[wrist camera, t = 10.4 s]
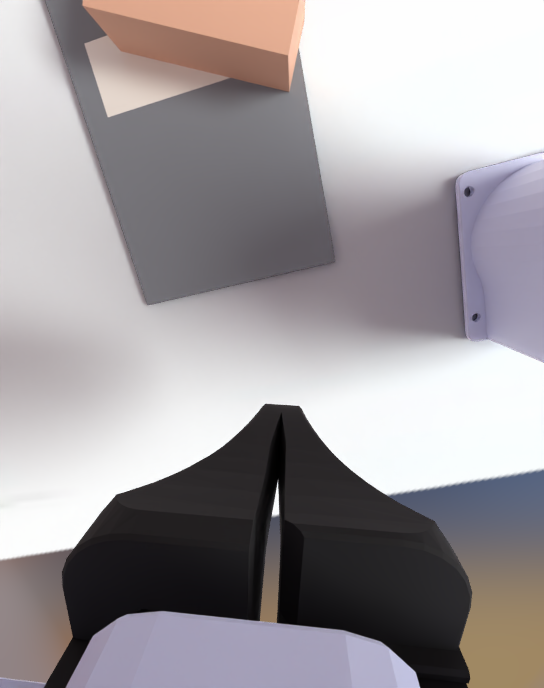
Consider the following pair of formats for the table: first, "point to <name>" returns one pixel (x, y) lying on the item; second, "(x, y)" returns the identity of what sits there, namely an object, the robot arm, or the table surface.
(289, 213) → the t mat
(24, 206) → the table surface
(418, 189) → the table surface
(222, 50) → the t block
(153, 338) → the table surface
